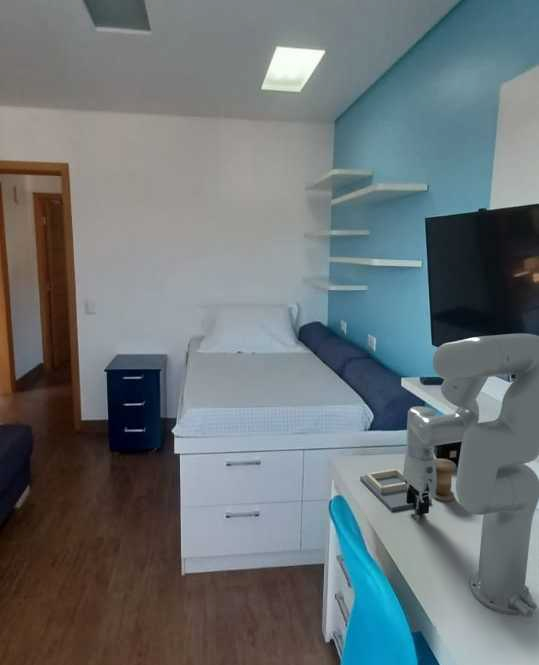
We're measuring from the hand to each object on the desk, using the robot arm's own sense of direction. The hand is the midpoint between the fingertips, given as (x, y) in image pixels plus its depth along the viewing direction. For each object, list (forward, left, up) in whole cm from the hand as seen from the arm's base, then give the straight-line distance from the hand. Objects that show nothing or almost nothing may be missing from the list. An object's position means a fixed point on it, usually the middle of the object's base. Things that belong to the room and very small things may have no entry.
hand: (417, 507), depth 137 cm
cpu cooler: (+25, -30, -3) cm, 39 cm away
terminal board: (+14, -1, -3) cm, 15 cm away
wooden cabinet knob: (+7, -14, -3) cm, 16 cm away
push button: (0, 0, -3) cm, 3 cm away
